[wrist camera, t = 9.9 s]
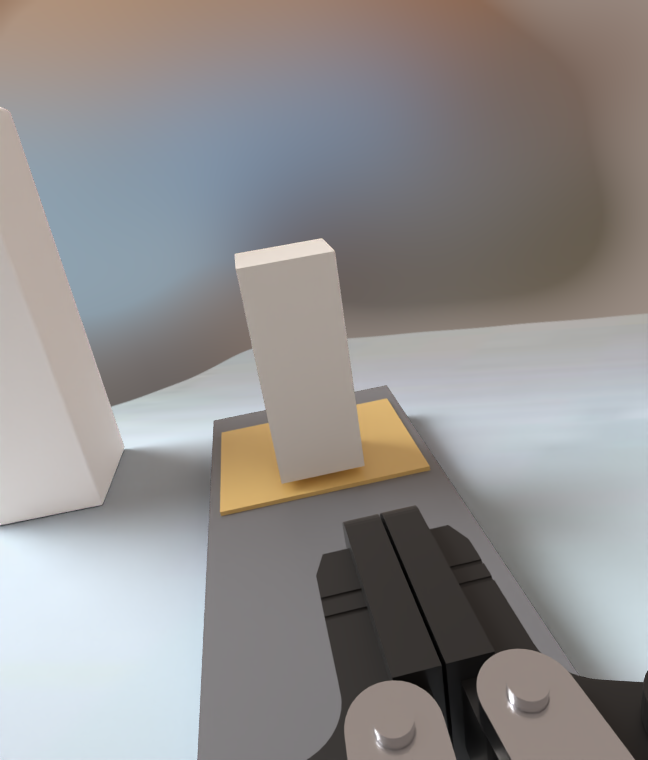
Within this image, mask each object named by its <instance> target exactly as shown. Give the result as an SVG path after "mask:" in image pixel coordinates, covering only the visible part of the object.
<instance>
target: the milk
mask: <svg viewBox="0 0 648 760" xmlns="http://www.w3.org/2000/svg"><path fill="white" fill-rule="evenodd" d="M123 451H124V444H123V441H122V438H121V435H120V432H119V429H118V426H117V423H116V420H115V417H114V415H113V412H112V409H111V406H110V403H109V400H108V397H107V394H106V391H105V388H104V385H103V382H102V380H101V376H100V373H99V371H98V368H97V365H96V362H95V359H94V356H93V353H92V350H91V347H90V345H89V341H88V339H87V335H86V332H85V330H84V327H83V324H82V321H81V318H80V315H79V312H78V309H77V306H76V303H75V300H74V297H73V294H72V292H71V289H70V285H69V283H68V280H67V277H66V274H65V271H64V268H63V265H62V262H61V259H60V256H59V253H58V250H57V248H56V245H55V242H54V239H53V236H52V233H51V230H50V227H49V224H48V221H47V218H46V215H45V212H44V210H43V206H42V203H41V200H40V198H39V195H38V192H37V189H36V186H35V183H34V180H33V177H32V174H31V171H30V168H29V165H28V162H27V160H26V156H25V153H24V151H23V148H22V145H21V142H20V139H19V136H18V133H17V130H16V127H15V125H14V121H13V118H12V115H11V113H10V111H9V110H7V109H4V108H2V107H0V525H4V524H9V523H14V522H19V521H24V520H29V519H34V518H39V517H44V516H49V515H54V514H59V513H64V512H69V511H74V510H79V509H84V508H89V507H94V506H99V505H102V504H103V502H104V500H105V497H106V495H107V492H108V490H109V487H110V484H111V482H112V479H113V477H114V474H115V471H116V469H117V466H118V464H119V461H120V458H121V456H122V453H123Z"/></svg>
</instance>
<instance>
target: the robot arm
mask: <svg viewBox="0 0 648 760" xmlns="http://www.w3.org/2000/svg"><path fill="white" fill-rule="evenodd" d="M342 524H343V532H344V537H345V543H346V549H343V550H339V551H335V552H330V553H326V554H323V555H322V558H321V561H320V564H319V568H318V571H317V574H316V578H317V583H318V588H319V593H320V598H321V603H322V608H323V612H324V617H325V622H326V627H327V632H328V637H329V642H330V646H331V651H332V656H333V661H334V666H335V670H336V675H337V680H338V685H339V690H340V694H341V701H342V702H341V713H340V718H339V721H338V724H337V726H336V729H335V730H334V732H333V734H332V736H331V737H330V739H329V740H328V741H327V743H326V744H325V745H324V746H323V747H322V748H321V749H320V750H319V751H318V752H317V753H315V754H314V755H313V756H311V757H310V758H308V759H307V760H648V671H647V673H646V675H645V678H644V682H629V681H612V680H598V679H590V678H586V677H581V676H578V675H575V674H573V673H570V672H568V671H567V670H566V669H565V668H564V667H563V666H562V665H561V664H560V663H558V662H557V661H555V660H554V659H552V658H551V657H549V656H547V655H545V654H542V653H541V652H540V651H539V650H538V648H537V647H536V646H535V644H534V643H533V641H532V640H531V638H530V637H529V635H528V633H527V632H526V630H525V628H524V627H523V625H522V624H521V622H520V620H519V619H518V617H517V616H516V614H515V612H514V611H513V609H512V608H511V606H510V604H509V603H508V601H507V599H506V598H505V596H504V595H503V593H502V591H501V590H500V588H499V587H498V585H497V583H496V582H495V580H493V579H492V575H491V574H490V572H489V571H488V569H487V567H486V566H485V564H484V563H482V560H481V558H480V556H479V554H478V553H477V551H476V550H475V548H474V546H473V545H472V543H471V542H470V540H469V539H468V538H467V537H465V536H464V535H462V534H461V533H459V532H458V531H457V530H455V529H454V528H452V527H451V526H449V525H445V526H441V527H437V528H432V529H429V527H428V525H427V523H426V522H425V520H424V518H423V516H422V514H421V512H420V510H419V509H418V507H417V506H416V505H414V506H410V507H405V508H401V509H396V510H392V511H388V512H383V513H380V516H379V515H378V514H375V515H371V516H367V517H362V518H358V519H354V520H349V521H345V522H343V523H342Z"/></svg>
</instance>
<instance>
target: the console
mask: <svg viewBox="0 0 648 760" xmlns="http://www.w3.org/2000/svg"><path fill="white" fill-rule="evenodd" d="M354 393H355V400H356V407H357V414H358V421H359V429H360V436H361V443H362V450H363V457H364V465H365V466H362V467H357V468H353V469H348V470H343V471H339V472H334V473H330V474H325V475H320V476H316V477H311V478H307V479H302V480H297V481H293V482H288V483H283V484H282V483H281V478H280V474H279V469H278V464H277V460H276V455H275V450H274V446H273V441H272V436H271V432H270V427H269V422H268V418H267V413H266V410H264V411H259V412H254V413H249V414H244V415H239V416H234V417H229V418H225V419H220V420H215V421H214V427H213V447H212V468H211V489H210V510H209V530H208V551H207V572H206V593H205V613H204V634H203V655H202V675H201V696H200V717H199V738H198V758H197V760H307V759H308V758H310V757H311V756H313V755H314V754H315V753H317V752H318V751H319V750H320V749H321V748H322V747H323V746H324V745H325V744H326V743H327V741H328V740H329V739H330V737H331V736H332V734H333V732H334V730H335V729H336V726H337V724H338V721H339V718H340V713H341V702H342V701H341V694H340V690H339V685H338V680H337V675H336V670H335V666H334V661H333V656H332V651H331V646H330V642H329V637H328V632H327V627H326V622H325V617H324V612H323V608H322V603H321V598H320V593H319V588H318V583H317V578H316V574H317V571H318V568H319V564H320V561H321V558H322V555H323V554H326V553H330V552H335V551H339V550H343V549H346V543H345V537H344V532H343V524H342V523H343V522H345V521H349V520H354V519H358V518H362V517H367V516H371V515H375V514H378V515H379V516H380V513H383V512H388V511H392V510H396V509H401V508H405V507H410V506H414V505H416V506H417V507H418V509H419V510H420V512H421V514H422V516H423V518H424V520H425V522H426V523H427V525H428V527H429V529H432V528H437V527H441V526H445V525H449V526H451V527H452V528H454V529H455V530H457V531H458V532H459V533H461V534H462V535H464V536H465V537H467V538H468V539H469V540H470V542H471V543H472V545H473V546H474V548H475V550H476V551H477V553H478V554H479V556H480V558H481V560H482V563H484V564H485V566H486V567H487V569H488V571H489V572H490V574H491V575H492V579H493V580H495V582H496V583H497V585H498V587H499V588H500V590H501V591H502V593H503V595H504V596H505V598H506V599H507V601H508V603H509V604H510V606H511V608H512V609H513V611H514V612H515V614H516V616H517V617H518V619H519V620H520V622H521V624H522V625H523V627H524V628H525V630H526V632H527V633H528V635H529V637H530V638H531V640H532V641H533V643H534V644H535V646H536V647H537V648H538V650H539V651H540V652H541V653H542V654H545V655H547V656H549V657H551V658H552V659H554V660H555V661H557V662H558V663H560V664H561V665H562V666H563V667H564V668H565V669H566V670H567V671H568V672H570V673H573V674H575V675H578V673H577V672H576V670H575V669H574V667H573V665H572V664H571V662H570V661H569V659H568V658H567V656H566V655H565V653H564V652H563V650H562V649H561V647H560V646H559V644H558V643H557V641H556V640H555V638H554V637H553V635H552V634H551V632H550V631H549V629H548V628H547V626H546V625H545V623H544V622H543V620H542V619H541V617H540V616H539V614H538V613H537V611H536V610H535V608H534V607H533V605H532V604H531V602H530V601H529V599H528V598H527V596H526V595H525V593H524V592H523V590H522V589H521V587H520V586H519V584H518V583H517V581H516V580H515V578H514V577H513V575H512V574H511V572H510V570H509V569H508V567H507V566H506V564H505V563H504V561H503V560H502V558H501V557H500V555H499V554H498V552H497V551H496V549H495V548H494V546H493V545H492V543H491V542H490V540H489V539H488V537H487V536H486V534H485V533H484V531H483V530H482V528H481V527H480V525H479V524H478V522H477V521H476V519H475V518H474V516H473V515H472V513H471V512H470V510H469V509H468V507H467V506H466V504H465V503H464V501H463V500H462V498H461V497H460V495H459V494H458V492H457V491H456V489H455V488H454V486H453V485H452V483H451V482H450V480H449V479H448V477H447V475H446V474H445V472H444V471H443V469H442V468H441V466H440V465H439V463H438V462H437V460H436V459H435V457H434V456H433V454H432V453H431V451H430V450H429V448H428V447H427V445H426V444H425V442H424V441H423V439H422V438H421V436H420V435H419V433H418V432H417V430H416V429H415V427H414V426H413V424H412V423H411V421H410V420H409V418H408V417H407V415H406V414H405V412H404V411H403V409H402V408H401V406H400V405H399V403H398V402H397V400H396V399H395V397H394V396H393V394H392V393H391V391H390V390H389V388H388V387H387V385H386V386H381V387H376V388H371V389H366V390H361V391H356V392H354ZM578 676H579V675H578Z"/></svg>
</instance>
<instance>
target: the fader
mask: <svg viewBox="0 0 648 760" xmlns="http://www.w3.org/2000/svg"><path fill="white" fill-rule="evenodd" d="M235 265H236V273H237V277H238V282H239V287H240V292H241V296H242V301H243V305H244V310H245V315H246V320H247V324H248V329H249V334H250V338H251V343H252V348H253V352H254V357H255V362H256V366H257V371H258V376H259V380H260V385H261V390H262V394H263V399H264V404H265V408H266V413H267V418H268V422H269V427H270V432H271V436H272V441H273V446H274V450H275V455H276V460H277V464H278V469H279V474H280V478H281V483H282V484H283V483H288V482H293V481H297V480H302V479H307V478H311V477H316V476H320V475H325V474H330V473H334V472H339V471H343V470H348V469H353V468H357V467H362V466H365V465H364V457H363V450H362V443H361V436H360V429H359V421H358V414H357V407H356V400H355V393H354V386H353V378H352V371H351V364H350V357H349V350H348V342H347V335H346V328H345V321H344V314H343V307H342V300H341V292H340V285H339V278H338V271H337V264H336V256H335V251H334V250H333V249H332V248H331V247H330V246H329V245H328V244H327V243H326V242H325V241H324V240H323V239H315V240H310V241H304V242H299V243H293V244H288V245H282V246H276V247H271V248H265V249H260V250H254V251H249V252H243V253H237V254H235Z"/></svg>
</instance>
